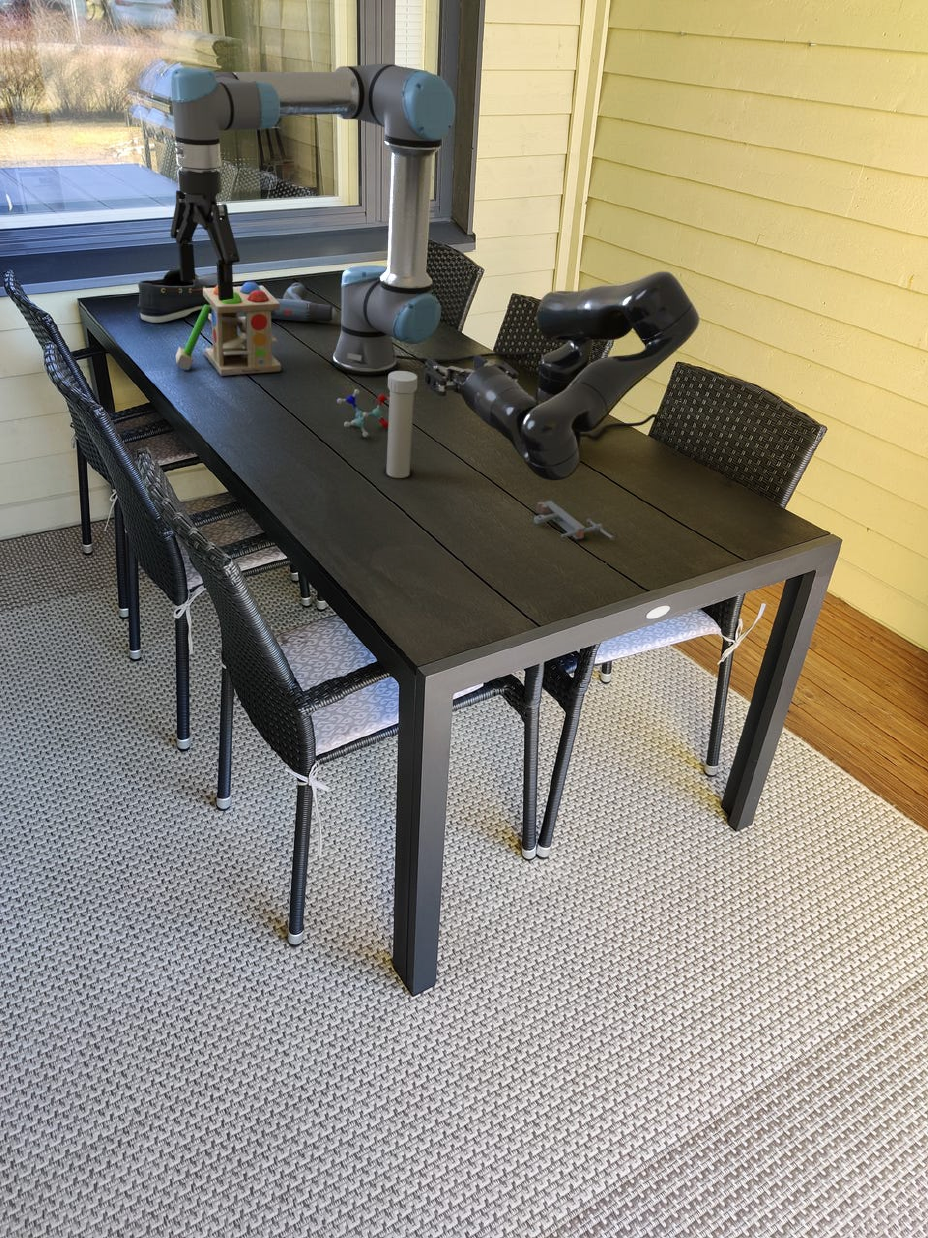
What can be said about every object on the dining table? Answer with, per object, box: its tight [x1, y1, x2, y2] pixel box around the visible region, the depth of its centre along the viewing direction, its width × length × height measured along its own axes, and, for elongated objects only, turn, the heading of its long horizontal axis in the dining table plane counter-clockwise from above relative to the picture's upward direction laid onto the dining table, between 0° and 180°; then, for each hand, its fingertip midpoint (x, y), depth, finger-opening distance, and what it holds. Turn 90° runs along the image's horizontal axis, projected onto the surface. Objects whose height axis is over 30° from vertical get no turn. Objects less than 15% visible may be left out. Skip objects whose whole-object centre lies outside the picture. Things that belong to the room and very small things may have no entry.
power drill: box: [271, 282, 338, 322], centre depth 265 cm, size 5×19×20 cm
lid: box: [387, 370, 418, 393], centre depth 181 cm, size 5×5×2 cm
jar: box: [385, 390, 415, 479], centre depth 186 cm, size 5×5×19 cm
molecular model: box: [336, 388, 389, 438], centre depth 204 cm, size 12×10×10 cm
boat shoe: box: [137, 266, 218, 324], centre depth 260 cm, size 13×33×10 cm, turn 147°
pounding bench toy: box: [174, 281, 282, 377], centre depth 225 cm, size 23×14×18 cm, turn 116°
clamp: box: [533, 500, 616, 542], centre depth 177 cm, size 15×2×10 cm
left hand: (206, 289), depth 186 cm, fingers open, 13 cm apart
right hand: (452, 362), depth 160 cm, fingers open, 8 cm apart
